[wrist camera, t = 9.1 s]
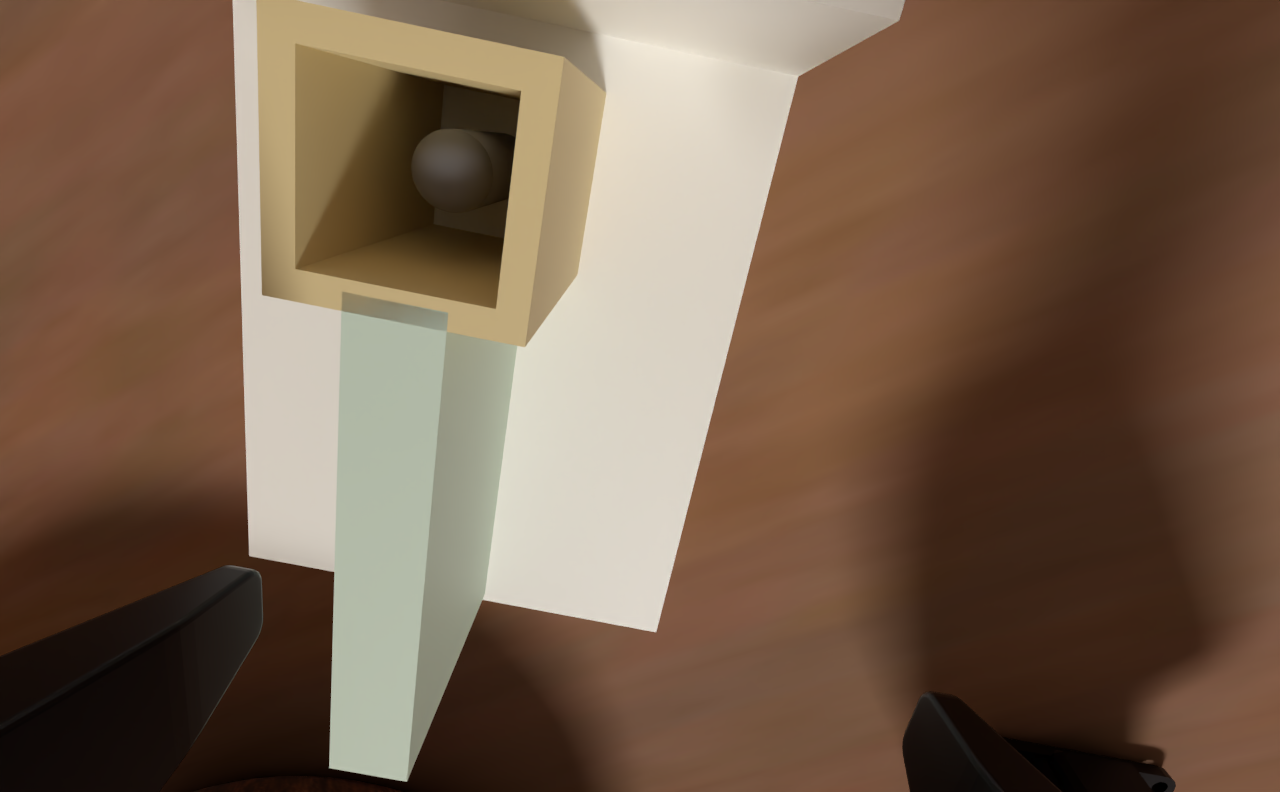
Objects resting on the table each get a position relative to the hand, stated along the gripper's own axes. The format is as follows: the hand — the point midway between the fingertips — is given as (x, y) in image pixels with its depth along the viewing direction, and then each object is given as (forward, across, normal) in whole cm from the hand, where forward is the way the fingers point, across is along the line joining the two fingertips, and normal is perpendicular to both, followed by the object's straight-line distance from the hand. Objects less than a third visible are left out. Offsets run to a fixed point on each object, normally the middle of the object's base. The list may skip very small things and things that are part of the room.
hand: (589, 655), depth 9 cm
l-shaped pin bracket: (+10, +4, -2) cm, 11 cm away
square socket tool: (+8, +4, -1) cm, 9 cm away
